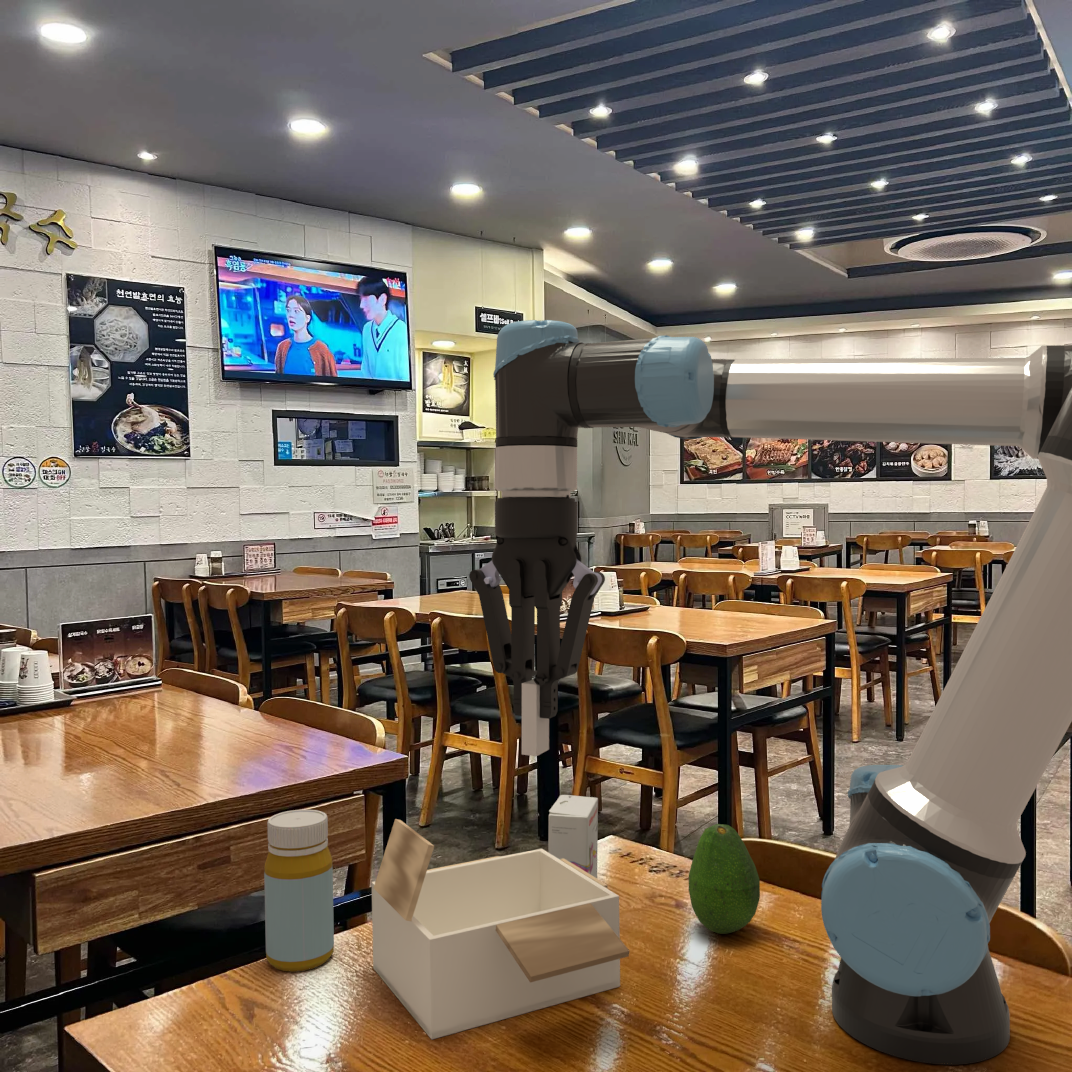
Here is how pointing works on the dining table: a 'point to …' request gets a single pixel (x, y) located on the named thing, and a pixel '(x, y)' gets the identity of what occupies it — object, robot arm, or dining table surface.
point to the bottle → (298, 891)
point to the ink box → (575, 831)
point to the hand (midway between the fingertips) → (535, 751)
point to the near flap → (561, 942)
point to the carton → (484, 940)
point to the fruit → (723, 881)
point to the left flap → (403, 869)
